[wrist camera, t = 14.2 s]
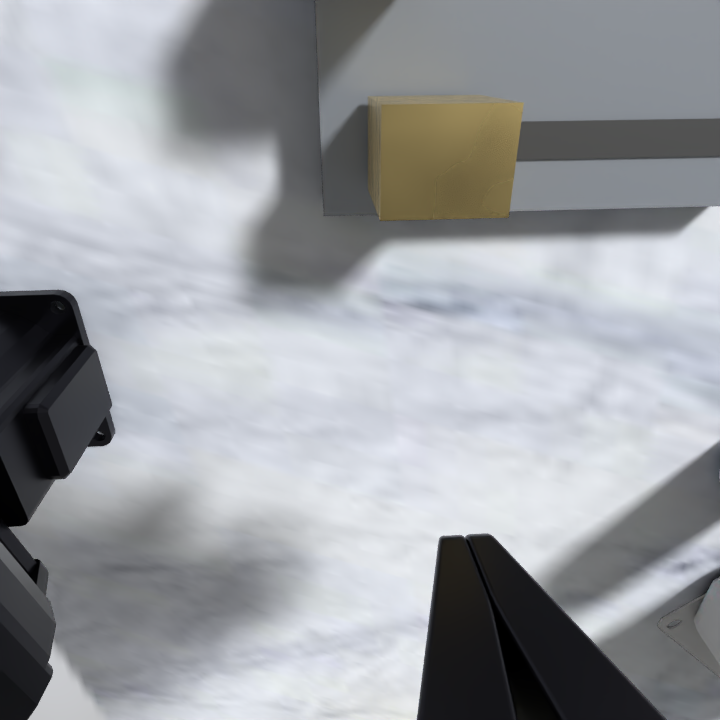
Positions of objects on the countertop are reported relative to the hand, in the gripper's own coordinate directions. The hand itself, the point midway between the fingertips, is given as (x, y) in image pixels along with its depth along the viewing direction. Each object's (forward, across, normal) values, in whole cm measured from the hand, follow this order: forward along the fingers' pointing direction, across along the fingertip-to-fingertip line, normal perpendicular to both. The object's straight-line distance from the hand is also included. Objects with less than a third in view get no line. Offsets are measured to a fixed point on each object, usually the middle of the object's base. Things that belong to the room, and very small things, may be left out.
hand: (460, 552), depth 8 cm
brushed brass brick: (+10, -1, -5) cm, 11 cm away
